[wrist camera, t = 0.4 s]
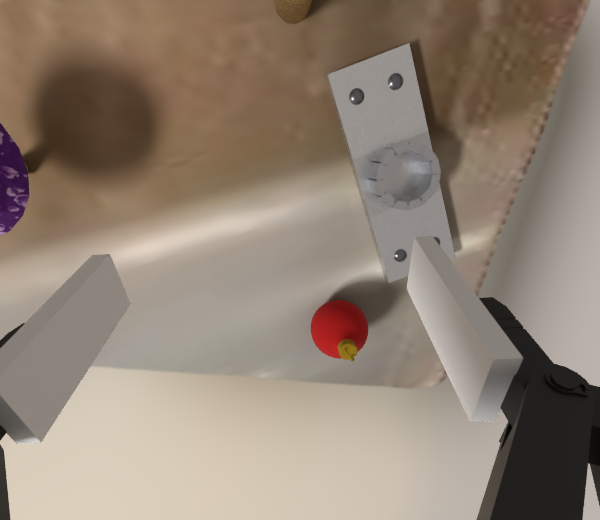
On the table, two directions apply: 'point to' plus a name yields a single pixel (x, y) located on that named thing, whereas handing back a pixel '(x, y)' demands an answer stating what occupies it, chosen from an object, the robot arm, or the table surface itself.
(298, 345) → the table surface
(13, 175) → the decorative mushroom
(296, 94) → the table surface
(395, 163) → the hinge leaves
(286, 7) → the hinge pin
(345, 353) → the christmas ornament
